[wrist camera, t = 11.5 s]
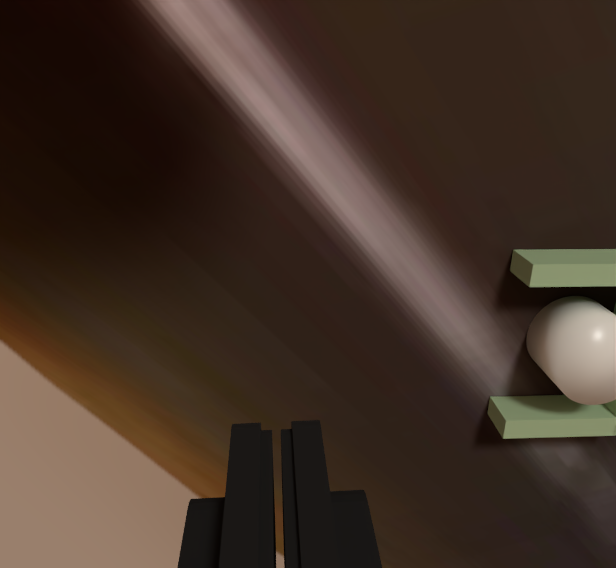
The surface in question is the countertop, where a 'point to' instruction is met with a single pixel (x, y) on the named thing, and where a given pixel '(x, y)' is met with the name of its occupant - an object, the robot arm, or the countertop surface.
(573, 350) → the white domed cylinder
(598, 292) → the countertop surface
